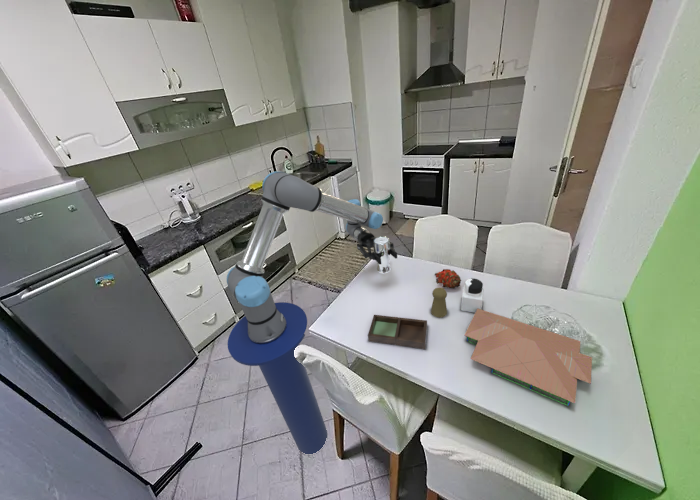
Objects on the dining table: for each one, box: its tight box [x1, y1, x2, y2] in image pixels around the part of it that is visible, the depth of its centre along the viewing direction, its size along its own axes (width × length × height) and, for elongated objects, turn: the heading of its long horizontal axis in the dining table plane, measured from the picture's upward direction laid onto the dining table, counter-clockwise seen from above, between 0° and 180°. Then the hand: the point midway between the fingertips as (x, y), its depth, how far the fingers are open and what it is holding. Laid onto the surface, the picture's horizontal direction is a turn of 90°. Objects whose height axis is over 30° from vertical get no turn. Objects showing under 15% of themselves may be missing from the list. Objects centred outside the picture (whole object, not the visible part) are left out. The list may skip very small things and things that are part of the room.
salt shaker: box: [430, 286, 448, 319], centre depth 105 cm, size 6×6×11 cm
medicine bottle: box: [460, 277, 485, 314], centre depth 105 cm, size 7×7×12 cm
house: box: [464, 308, 593, 407], centre depth 85 cm, size 23×33×8 cm
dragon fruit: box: [434, 268, 462, 289], centre depth 119 cm, size 8×8×12 cm
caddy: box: [367, 314, 428, 350], centre depth 101 cm, size 20×10×3 cm, turn 73°
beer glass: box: [373, 236, 392, 274], centre depth 119 cm, size 7×7×15 cm
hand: (388, 258), depth 114 cm, fingers closed on beer glass, 7 cm apart
